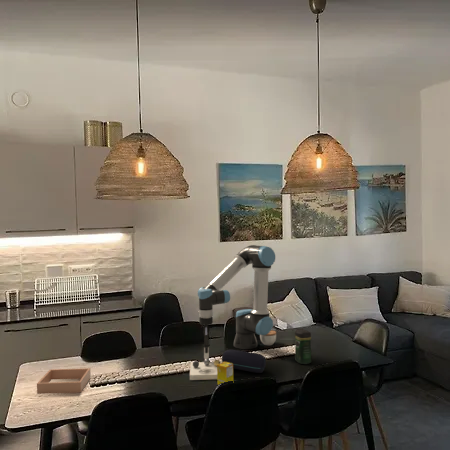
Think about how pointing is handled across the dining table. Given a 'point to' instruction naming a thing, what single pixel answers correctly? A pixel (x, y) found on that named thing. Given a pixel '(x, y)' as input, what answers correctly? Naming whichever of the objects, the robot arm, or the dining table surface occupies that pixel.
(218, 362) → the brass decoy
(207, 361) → the ball
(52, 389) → the brown square tray
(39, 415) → the dining table surface
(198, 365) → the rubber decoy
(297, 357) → the coffee jar
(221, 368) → the supplement box
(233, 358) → the portable speaker
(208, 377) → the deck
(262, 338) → the lidded jar
